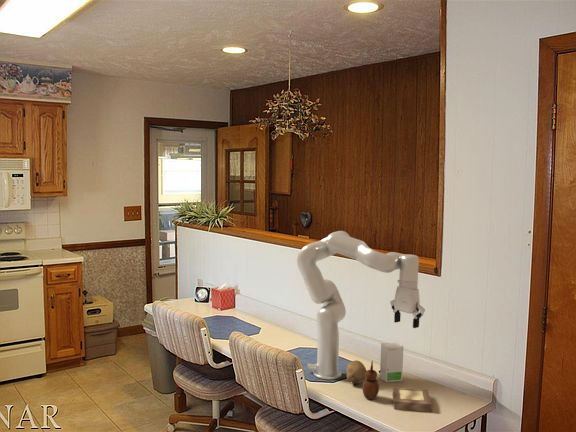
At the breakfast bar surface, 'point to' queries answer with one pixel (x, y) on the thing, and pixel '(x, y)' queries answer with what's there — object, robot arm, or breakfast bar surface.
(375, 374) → the wooden figurine
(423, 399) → the walnut plinth
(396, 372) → the skincare box
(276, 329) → the breakfast bar surface
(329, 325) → the robot arm
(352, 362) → the natural sponge
